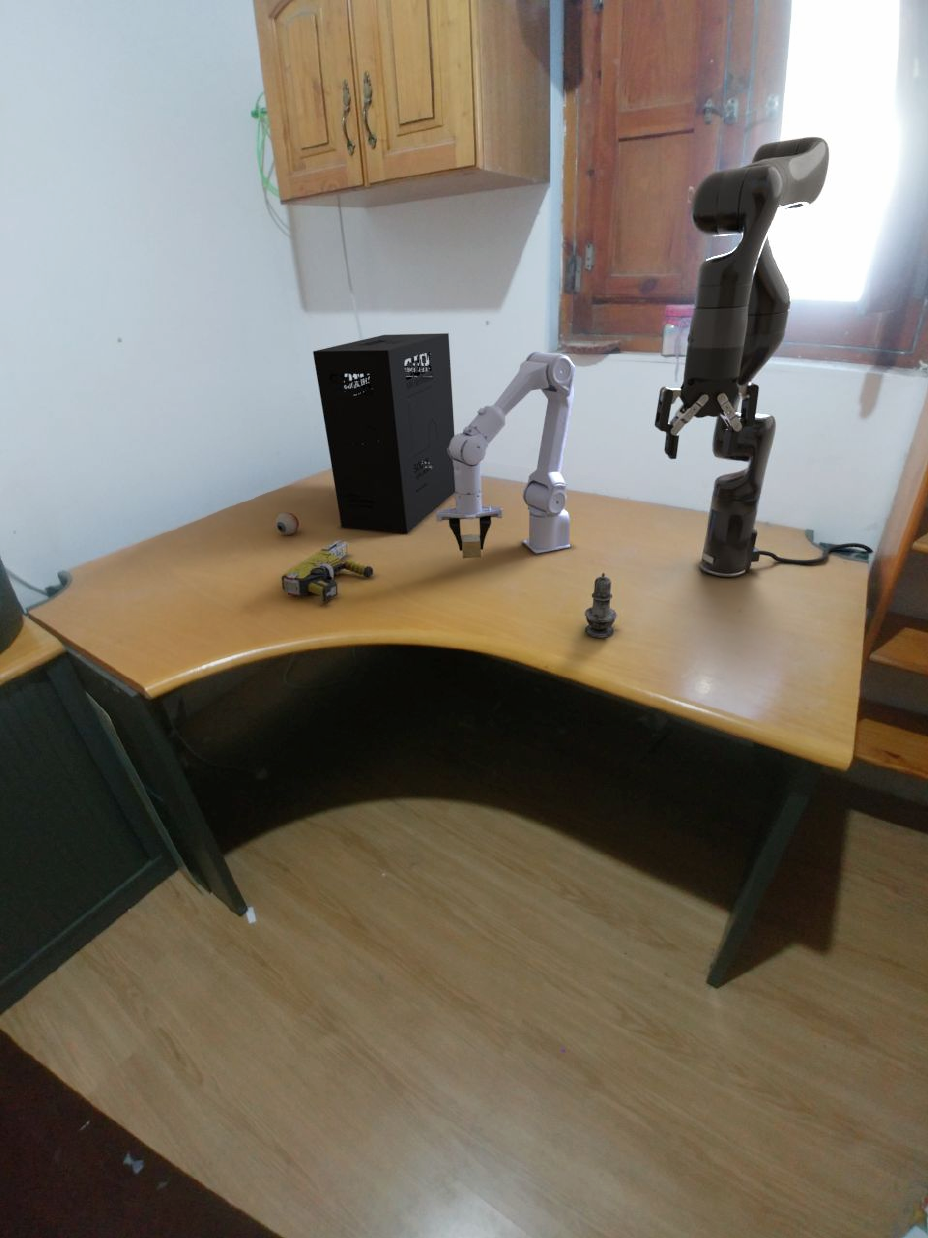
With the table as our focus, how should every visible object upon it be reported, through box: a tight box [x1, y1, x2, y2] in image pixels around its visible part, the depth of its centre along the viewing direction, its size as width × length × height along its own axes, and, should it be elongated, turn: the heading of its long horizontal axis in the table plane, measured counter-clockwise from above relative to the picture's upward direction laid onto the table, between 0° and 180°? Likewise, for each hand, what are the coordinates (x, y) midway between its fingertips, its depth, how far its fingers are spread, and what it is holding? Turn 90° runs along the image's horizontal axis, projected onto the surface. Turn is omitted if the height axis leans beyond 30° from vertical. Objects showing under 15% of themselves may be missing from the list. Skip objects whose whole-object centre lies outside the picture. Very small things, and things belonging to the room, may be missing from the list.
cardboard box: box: [312, 332, 456, 534], centre depth 168 cm, size 38×20×45 cm, turn 159°
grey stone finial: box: [583, 572, 618, 639], centre depth 111 cm, size 6×6×12 cm
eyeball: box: [275, 511, 300, 536], centre depth 163 cm, size 6×6×6 cm
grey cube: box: [461, 533, 482, 560], centre depth 138 cm, size 4×4×4 cm
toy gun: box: [281, 539, 374, 603], centre depth 138 cm, size 5×24×15 cm
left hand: (471, 548), depth 138 cm, fingers closed on grey cube, 4 cm apart
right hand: (699, 456), depth 94 cm, fingers open, 8 cm apart
